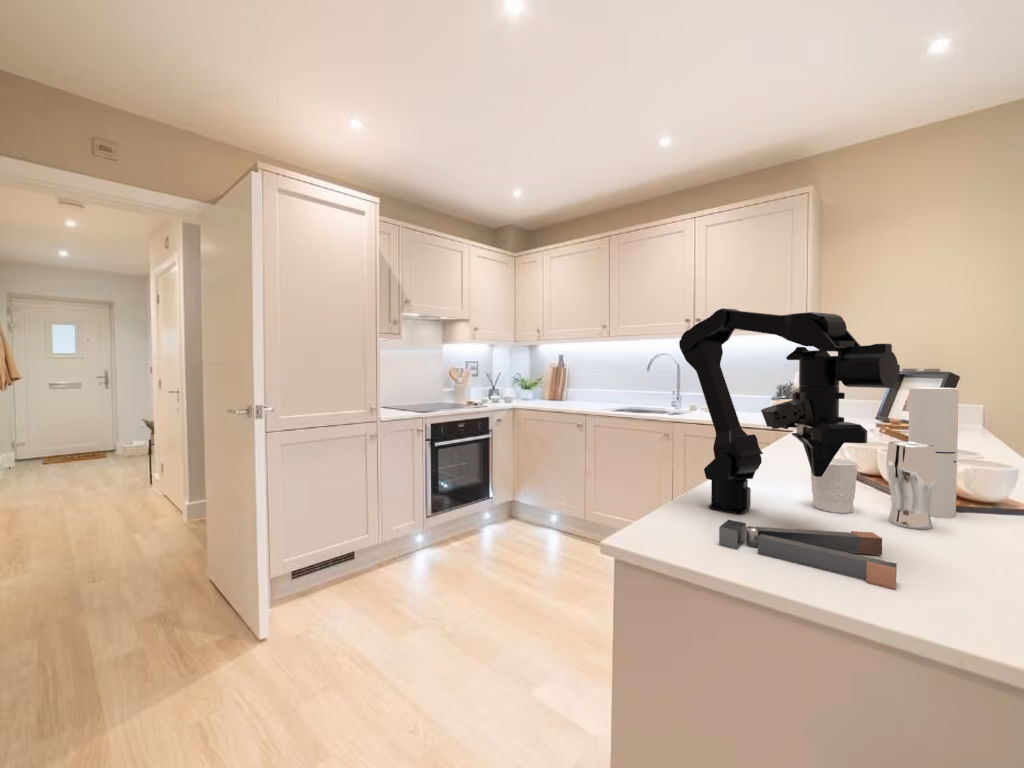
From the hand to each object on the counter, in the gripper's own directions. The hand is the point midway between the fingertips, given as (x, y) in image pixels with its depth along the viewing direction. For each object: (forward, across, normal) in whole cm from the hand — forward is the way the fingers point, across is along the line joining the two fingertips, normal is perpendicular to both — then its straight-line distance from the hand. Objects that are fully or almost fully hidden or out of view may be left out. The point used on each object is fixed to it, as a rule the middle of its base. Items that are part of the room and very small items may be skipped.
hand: (817, 476), depth 77 cm
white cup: (+11, -18, +10) cm, 23 cm away
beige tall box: (+11, -19, +28) cm, 36 cm away
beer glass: (+11, -10, +20) cm, 24 cm away
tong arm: (+10, +6, -3) cm, 12 cm away
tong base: (+10, +11, -7) cm, 17 cm away
